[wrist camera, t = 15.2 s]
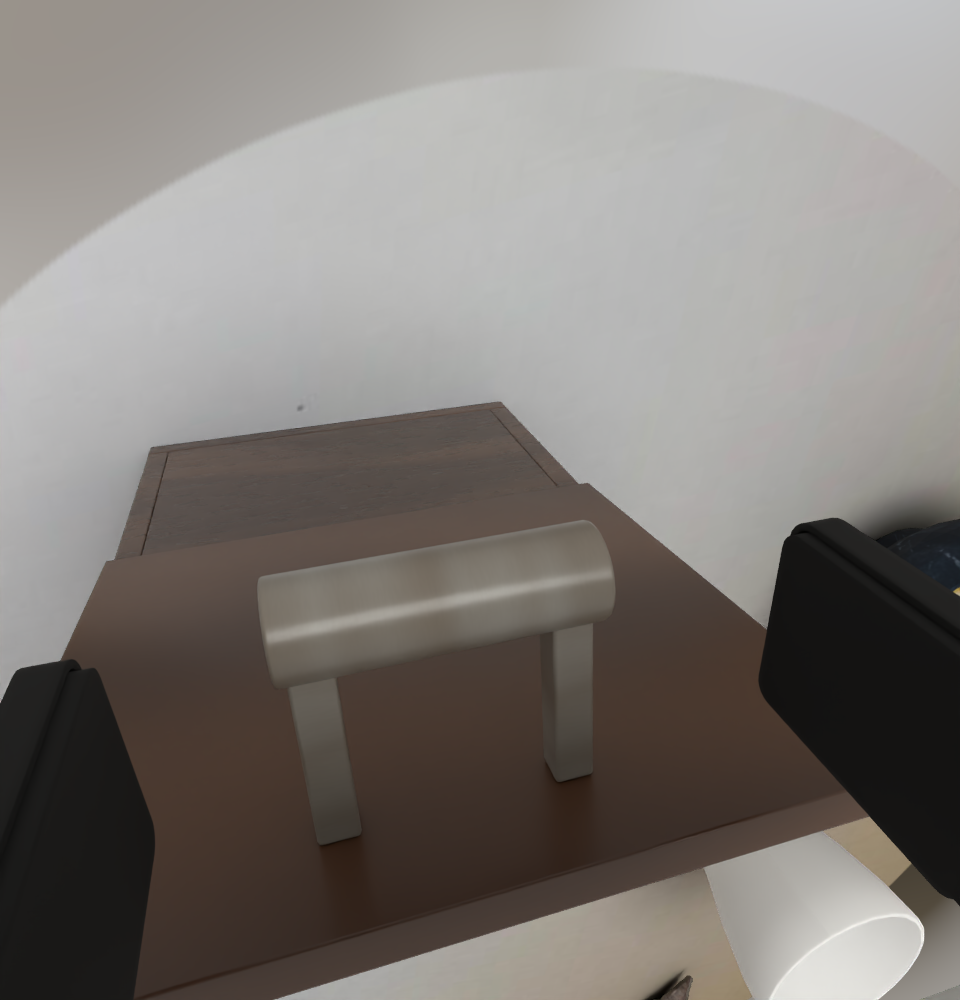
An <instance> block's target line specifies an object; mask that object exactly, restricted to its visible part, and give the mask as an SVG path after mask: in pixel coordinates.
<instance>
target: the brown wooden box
mask: <svg viewBox="0 0 960 1000" xmlns="http://www.w3.org/2000/svg"><path fill="white" fill-rule="evenodd" d="M571 485H578V483H577V482H576V481H575V480H574V478H573V477H572V476H571V475H570V474H569V473H568V472H567V471H566V470H565V469H564V468H563V467H562V466H561V465H560V464H559V463H558V462H557V461H556V460H555V458H554V457H553V456H552V455H551V454H550V453H549V452H548V451H547V450H546V449H545V448H544V447H543V446H542V445H541V444H540V443H539V442H538V441H537V440H536V438H535V437H534V436H533V435H532V434H531V433H530V432H529V431H528V430H527V429H526V428H525V427H524V426H523V425H522V424H521V423H520V422H519V421H518V420H517V418H516V417H515V416H514V415H513V414H512V413H511V412H510V411H509V410H508V409H507V408H506V407H505V406H504V405H503V404H502V403H501V402H494V403H486V404H479V405H471V406H464V407H456V408H448V409H441V410H433V411H426V412H418V413H410V414H403V415H395V416H387V417H380V418H372V419H365V420H357V421H349V422H342V423H334V424H327V425H319V426H311V427H304V428H296V429H288V430H281V431H273V432H266V433H258V434H250V435H243V436H235V437H228V438H220V439H212V440H205V441H197V442H189V443H182V444H174V445H167V446H159V447H152V448H151V449H150V452H149V456H148V459H147V462H146V465H145V468H144V471H143V474H142V477H141V480H140V483H139V486H138V489H137V492H136V495H135V498H134V501H133V504H132V507H131V510H130V514H129V517H128V520H127V523H126V526H125V529H124V532H123V535H122V538H121V541H120V544H119V547H118V550H117V553H116V556H115V559H114V560H118V559H124V558H130V557H136V556H143V555H149V554H155V553H161V552H167V551H173V550H179V549H185V548H192V547H198V546H204V545H210V544H216V543H222V542H228V541H234V540H241V539H247V538H253V537H259V536H265V535H271V534H277V533H283V532H290V531H296V530H302V529H308V528H314V527H320V526H326V525H333V524H339V523H345V522H351V521H357V520H363V519H369V518H375V517H382V516H388V515H394V514H400V513H406V512H412V511H418V510H424V509H431V508H437V507H443V506H449V505H455V504H461V503H467V502H473V501H480V500H486V499H492V498H498V497H504V496H510V495H516V494H522V493H529V492H535V491H541V490H547V489H553V488H559V487H565V486H571Z"/></svg>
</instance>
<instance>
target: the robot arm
mask: <svg viewBox="0 0 960 1000" xmlns="http://www.w3.org/2000/svg"><path fill="white" fill-rule="evenodd" d="M758 682H759V687H760V691H761V693H762V695H763V697H764V699H765V700H766V702H767V703H768V704H769V705H770V706H771V707H772V709H773V710H774V711H775V712H776V713H777V714H778V715H779V716H780V717H781V719H782V720H783V721H784V722H785V723H786V724H787V725H788V726H789V727H790V729H791V730H792V731H793V732H794V733H795V734H796V735H797V736H798V737H799V739H800V740H801V741H802V742H803V743H804V744H805V745H806V746H807V747H808V749H809V750H810V751H811V752H812V753H813V754H814V755H815V756H816V757H817V759H818V760H819V761H820V762H821V763H822V764H823V765H824V766H825V767H826V769H827V770H828V771H829V772H830V773H831V774H832V775H833V776H834V777H835V779H836V780H837V781H838V782H839V783H840V784H841V785H842V786H843V787H844V789H845V790H846V791H847V792H848V793H849V794H850V795H851V796H852V797H853V799H854V800H855V801H856V802H857V803H858V804H859V805H860V806H861V807H862V809H863V810H864V811H865V812H866V813H867V814H868V815H869V816H870V817H871V819H872V820H873V821H874V822H875V823H876V824H877V825H878V826H879V827H880V829H881V830H882V831H883V832H884V833H885V834H886V835H887V836H888V837H889V839H890V840H891V841H892V842H893V843H894V844H895V845H896V846H897V847H898V849H899V850H900V851H901V852H902V853H903V854H904V855H905V856H906V857H907V859H908V860H909V861H910V862H911V863H912V864H913V865H914V866H915V867H916V868H917V870H918V871H919V872H920V873H921V874H922V875H923V876H924V877H925V879H926V880H927V881H928V882H929V883H930V884H931V885H932V886H933V887H934V888H935V889H936V890H937V891H938V892H939V893H940V894H942V895H943V896H945V897H947V898H950V899H954V900H955V901H956V902H957V903H958V905H959V906H960V596H959V595H957V594H956V593H954V592H953V591H951V590H950V589H948V588H946V587H945V586H943V585H942V584H940V583H939V582H937V581H936V580H934V579H933V578H931V577H930V576H928V575H927V574H925V573H924V572H922V571H920V570H919V569H917V568H916V567H914V566H913V565H911V564H910V563H908V562H907V561H905V560H904V559H902V558H901V557H899V556H898V555H896V554H894V553H893V552H891V551H890V550H888V549H887V548H885V547H884V546H882V545H881V544H879V543H878V542H876V541H875V540H873V539H872V538H870V537H869V536H867V535H865V534H864V533H862V532H861V531H859V530H858V529H856V528H855V527H853V526H852V525H850V524H849V523H847V522H846V521H844V520H841V519H839V518H829V519H823V520H818V521H813V522H807V523H802V524H799V525H797V526H796V527H795V528H794V529H793V530H792V532H791V535H790V536H789V537H787V538H786V540H785V541H784V544H783V547H782V552H781V558H780V563H779V568H778V574H777V579H776V585H775V590H774V595H773V601H772V606H771V611H770V617H769V622H768V628H767V633H766V638H765V644H764V649H763V654H762V660H761V665H760V671H759V677H758ZM154 855H155V831H154V825H153V821H152V818H151V815H150V812H149V809H148V807H147V804H146V801H145V798H144V796H143V793H142V790H141V787H140V785H139V782H138V779H137V776H136V774H135V771H134V768H133V765H132V762H131V760H130V757H129V754H128V751H127V749H126V746H125V743H124V740H123V738H122V735H121V732H120V729H119V727H118V724H117V721H116V718H115V716H114V713H113V710H112V707H111V705H110V702H109V699H108V696H107V693H106V691H105V688H104V685H103V682H102V680H101V677H100V675H99V673H98V671H97V670H96V669H95V668H87V669H81V667H80V665H79V663H78V662H77V661H76V660H73V659H68V660H63V661H58V662H52V663H47V664H42V665H36V666H31V667H25V668H21V669H19V670H17V671H16V672H15V674H14V675H13V677H12V679H11V681H10V683H9V686H8V688H7V690H6V692H5V694H4V697H3V699H2V701H1V703H0V1000H133V999H134V992H135V985H136V978H137V971H138V964H139V958H140V951H141V944H142V937H143V930H144V923H145V916H146V910H147V903H148V896H149V889H150V882H151V875H152V868H153V861H154ZM921 1000H960V985H959V986H956V987H954V988H951V989H948V990H945V991H943V992H940V993H937V994H935V995H932V996H929V997H926V998H923V999H921Z"/></svg>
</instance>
